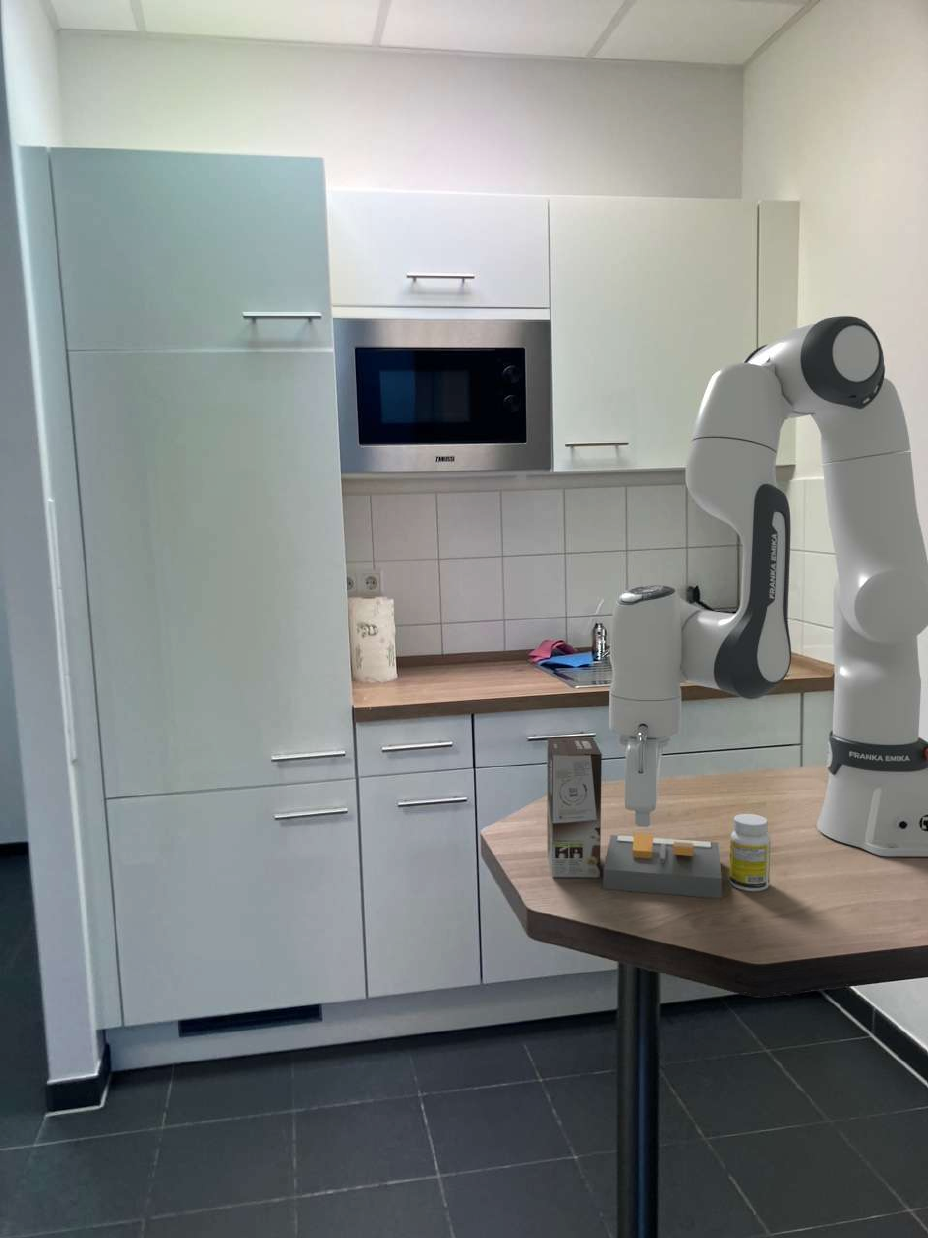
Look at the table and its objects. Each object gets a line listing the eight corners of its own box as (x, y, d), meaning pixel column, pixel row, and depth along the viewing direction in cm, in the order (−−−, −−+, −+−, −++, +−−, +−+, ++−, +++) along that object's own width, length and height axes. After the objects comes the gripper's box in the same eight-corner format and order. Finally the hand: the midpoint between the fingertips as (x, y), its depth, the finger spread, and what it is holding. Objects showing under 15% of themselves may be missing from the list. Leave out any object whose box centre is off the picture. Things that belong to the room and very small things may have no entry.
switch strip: (717, 860, 122) (718, 838, 122) (721, 898, 111) (722, 873, 110) (610, 852, 125) (610, 830, 125) (603, 888, 114) (603, 864, 113)
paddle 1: (653, 841, 120) (653, 834, 119) (652, 858, 116) (652, 851, 116) (634, 839, 120) (634, 833, 120) (632, 857, 117) (632, 850, 116)
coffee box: (602, 878, 117) (603, 754, 115) (551, 878, 117) (551, 754, 115) (593, 851, 126) (594, 735, 124) (546, 851, 126) (546, 736, 124)
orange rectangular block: (692, 850, 119) (692, 843, 119) (693, 856, 115) (693, 847, 115) (673, 849, 119) (673, 841, 119) (673, 854, 115) (673, 846, 115)
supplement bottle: (741, 873, 118) (743, 809, 117) (776, 884, 115) (778, 818, 114) (721, 884, 115) (723, 819, 114) (757, 896, 111) (759, 828, 110)
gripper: (669, 738, 105) (667, 855, 107) (671, 700, 125) (669, 799, 127) (613, 735, 107) (611, 850, 108) (624, 698, 126) (623, 797, 128)
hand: (643, 823), depth 118 cm, fingers closed
